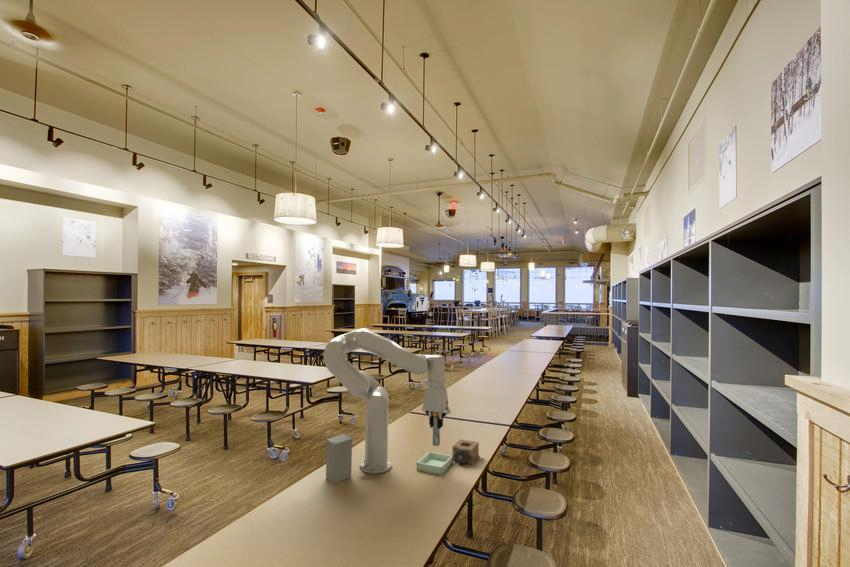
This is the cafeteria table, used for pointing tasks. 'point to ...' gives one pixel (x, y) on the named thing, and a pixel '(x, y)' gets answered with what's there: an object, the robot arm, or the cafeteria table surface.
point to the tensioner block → (465, 451)
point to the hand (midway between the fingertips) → (436, 426)
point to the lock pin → (436, 429)
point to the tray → (435, 463)
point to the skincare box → (338, 458)
